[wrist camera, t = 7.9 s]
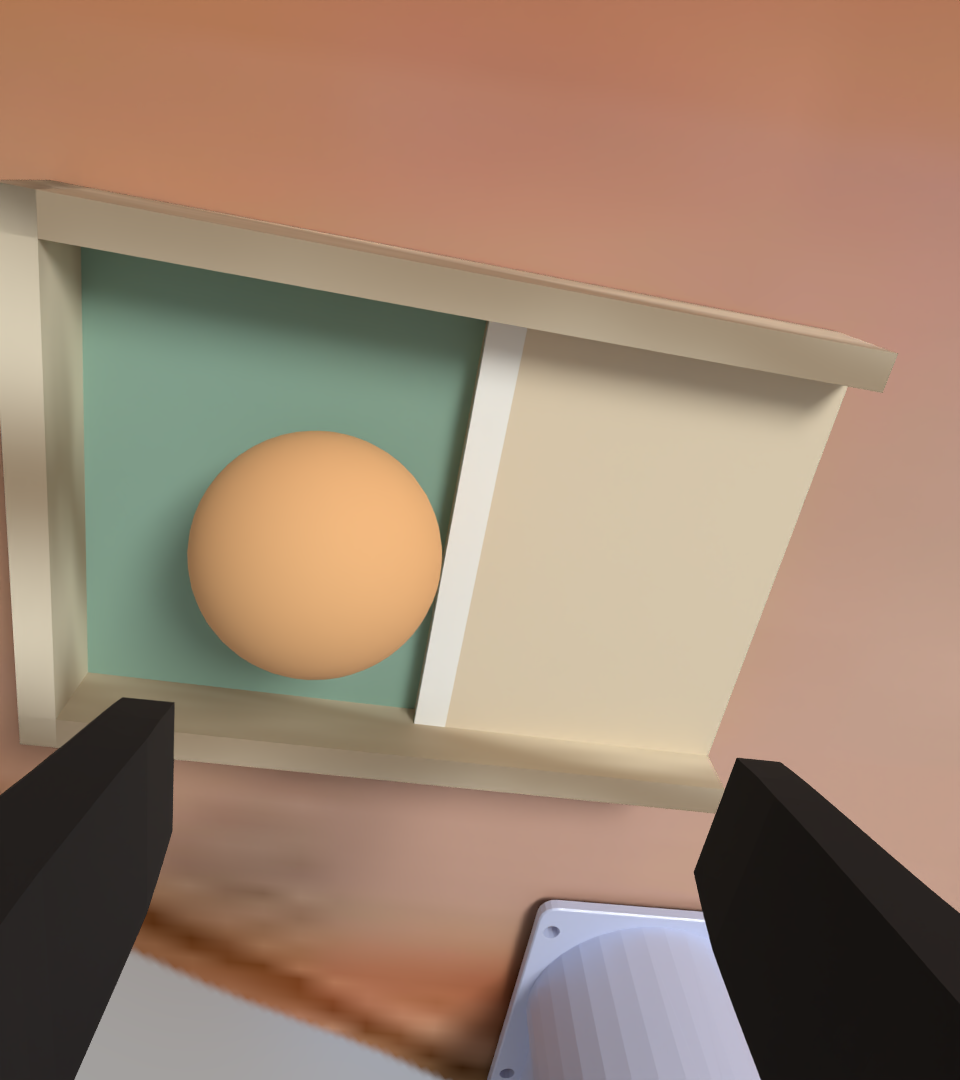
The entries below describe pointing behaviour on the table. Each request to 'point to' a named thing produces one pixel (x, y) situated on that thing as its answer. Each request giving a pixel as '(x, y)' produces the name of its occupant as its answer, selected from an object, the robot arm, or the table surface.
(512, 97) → the table surface
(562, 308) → the rails
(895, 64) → the table surface
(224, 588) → the ball
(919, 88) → the table surface
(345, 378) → the lane
